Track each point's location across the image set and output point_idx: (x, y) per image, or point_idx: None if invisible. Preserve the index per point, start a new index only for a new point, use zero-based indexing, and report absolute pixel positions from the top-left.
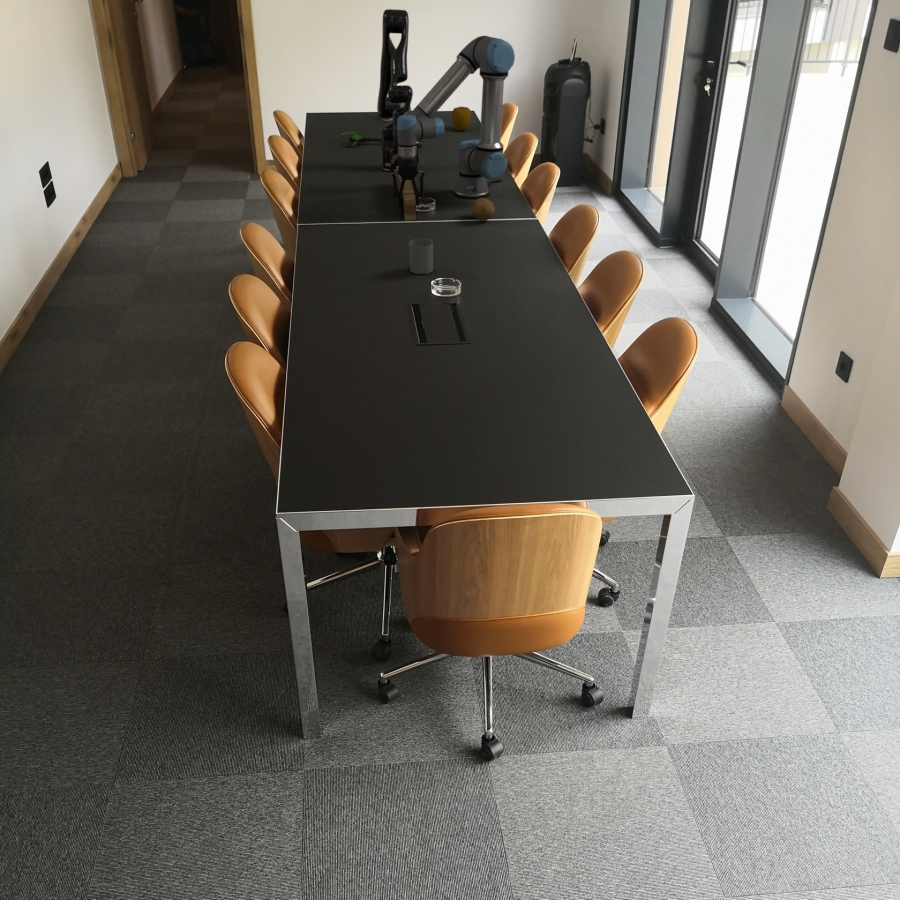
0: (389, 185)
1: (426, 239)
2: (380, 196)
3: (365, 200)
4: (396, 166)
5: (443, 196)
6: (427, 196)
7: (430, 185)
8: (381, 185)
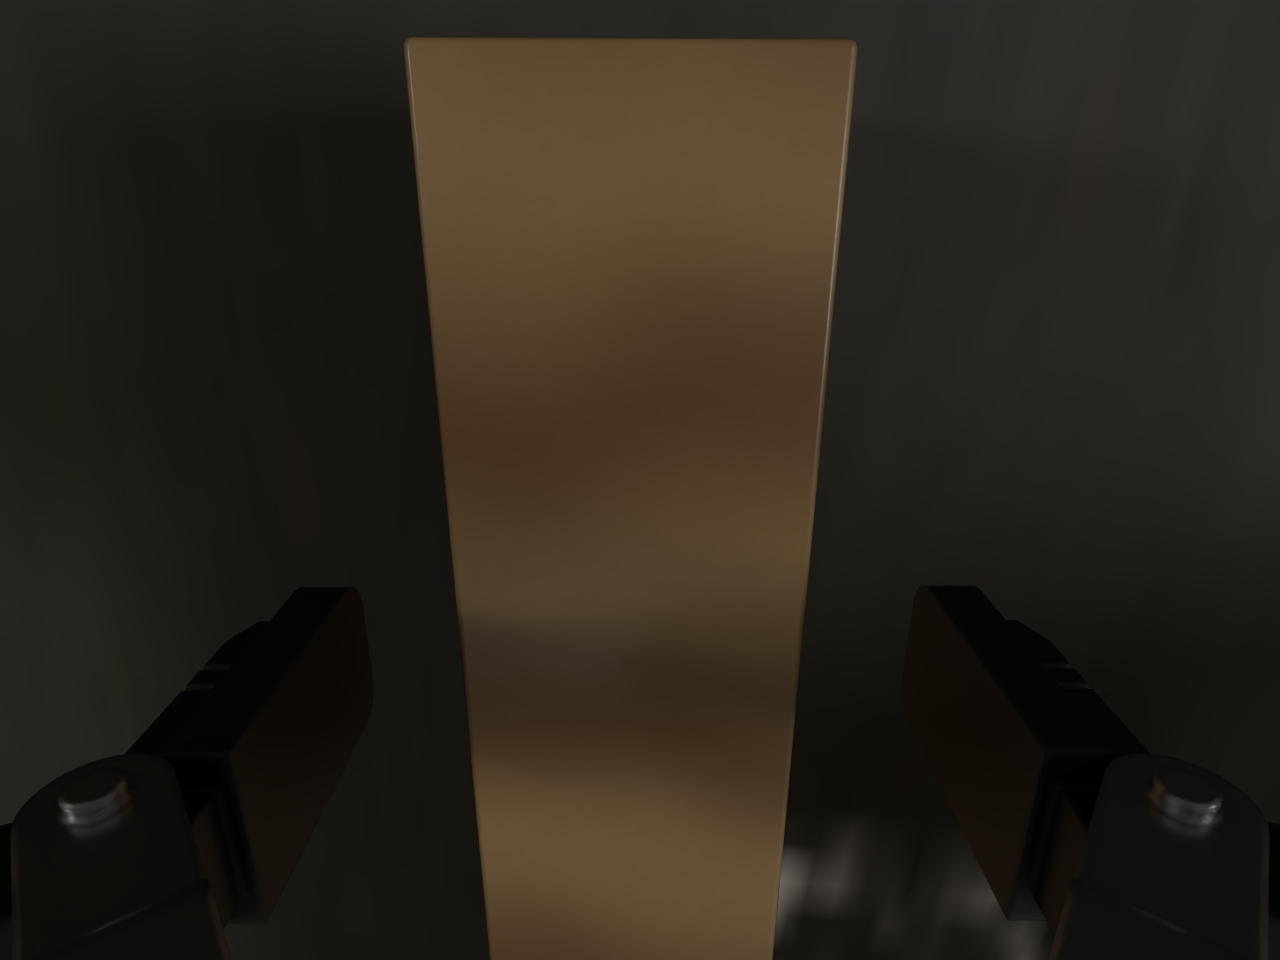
0: (351, 76)
1: None
2: None
3: None
4: (410, 109)
5: None
6: None
7: (1245, 188)
8: (166, 53)
